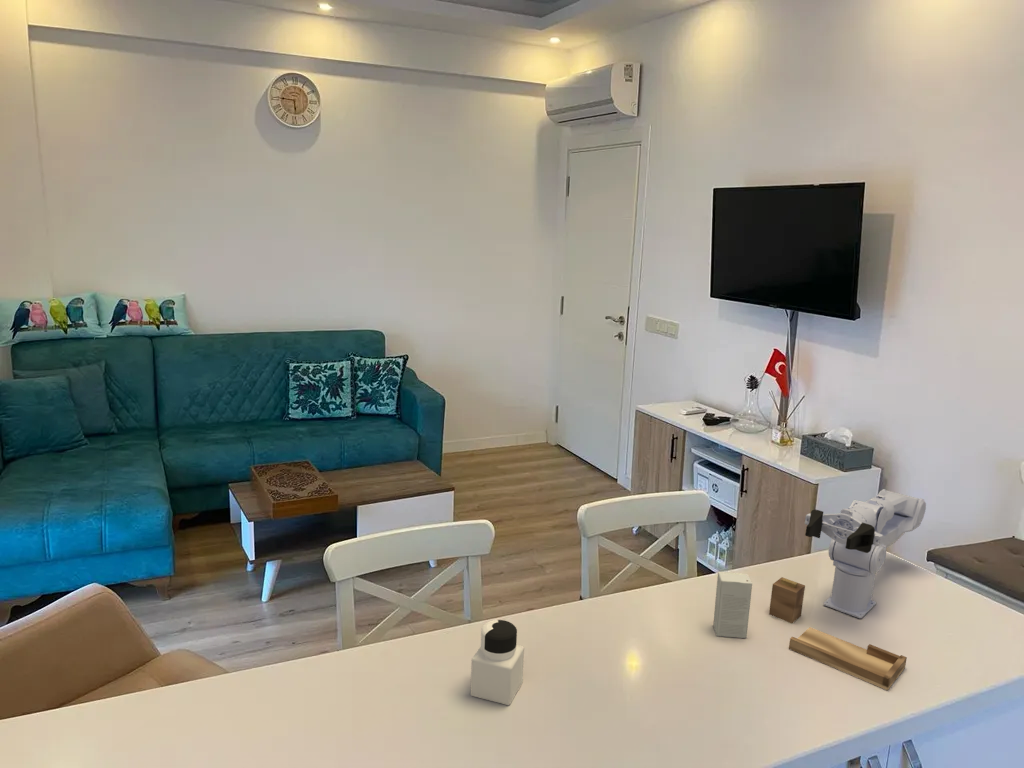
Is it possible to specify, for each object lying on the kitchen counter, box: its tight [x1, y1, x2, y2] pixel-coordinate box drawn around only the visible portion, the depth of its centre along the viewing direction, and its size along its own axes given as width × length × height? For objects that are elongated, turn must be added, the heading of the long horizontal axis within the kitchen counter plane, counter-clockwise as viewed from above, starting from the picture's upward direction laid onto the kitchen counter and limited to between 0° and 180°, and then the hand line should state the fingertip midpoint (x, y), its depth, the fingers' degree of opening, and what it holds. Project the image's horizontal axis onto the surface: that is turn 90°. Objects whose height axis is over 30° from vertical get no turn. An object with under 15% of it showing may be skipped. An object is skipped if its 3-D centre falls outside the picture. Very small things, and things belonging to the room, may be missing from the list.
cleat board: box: [788, 626, 908, 691], centre depth 141 cm, size 10×18×2 cm, turn 47°
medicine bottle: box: [470, 619, 525, 706], centre depth 127 cm, size 7×7×12 cm
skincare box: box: [712, 571, 753, 639], centre depth 148 cm, size 6×4×12 cm
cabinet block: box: [768, 576, 806, 624], centre depth 156 cm, size 4×5×8 cm
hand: (827, 537), depth 143 cm, fingers open, 7 cm apart
